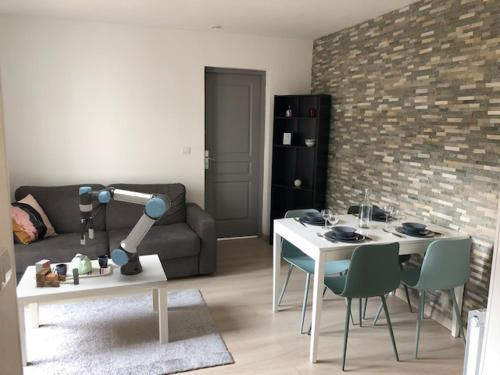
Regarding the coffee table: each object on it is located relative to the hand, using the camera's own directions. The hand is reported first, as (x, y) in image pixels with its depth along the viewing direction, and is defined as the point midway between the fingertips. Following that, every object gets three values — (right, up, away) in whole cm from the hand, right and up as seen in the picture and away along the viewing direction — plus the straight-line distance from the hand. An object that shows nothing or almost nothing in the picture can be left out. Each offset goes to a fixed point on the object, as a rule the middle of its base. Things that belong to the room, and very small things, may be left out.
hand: (87, 241), depth 278 cm
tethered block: (-13, -27, -8) cm, 31 cm away
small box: (-31, -25, +5) cm, 40 cm away
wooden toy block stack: (-20, -27, -8) cm, 34 cm away
